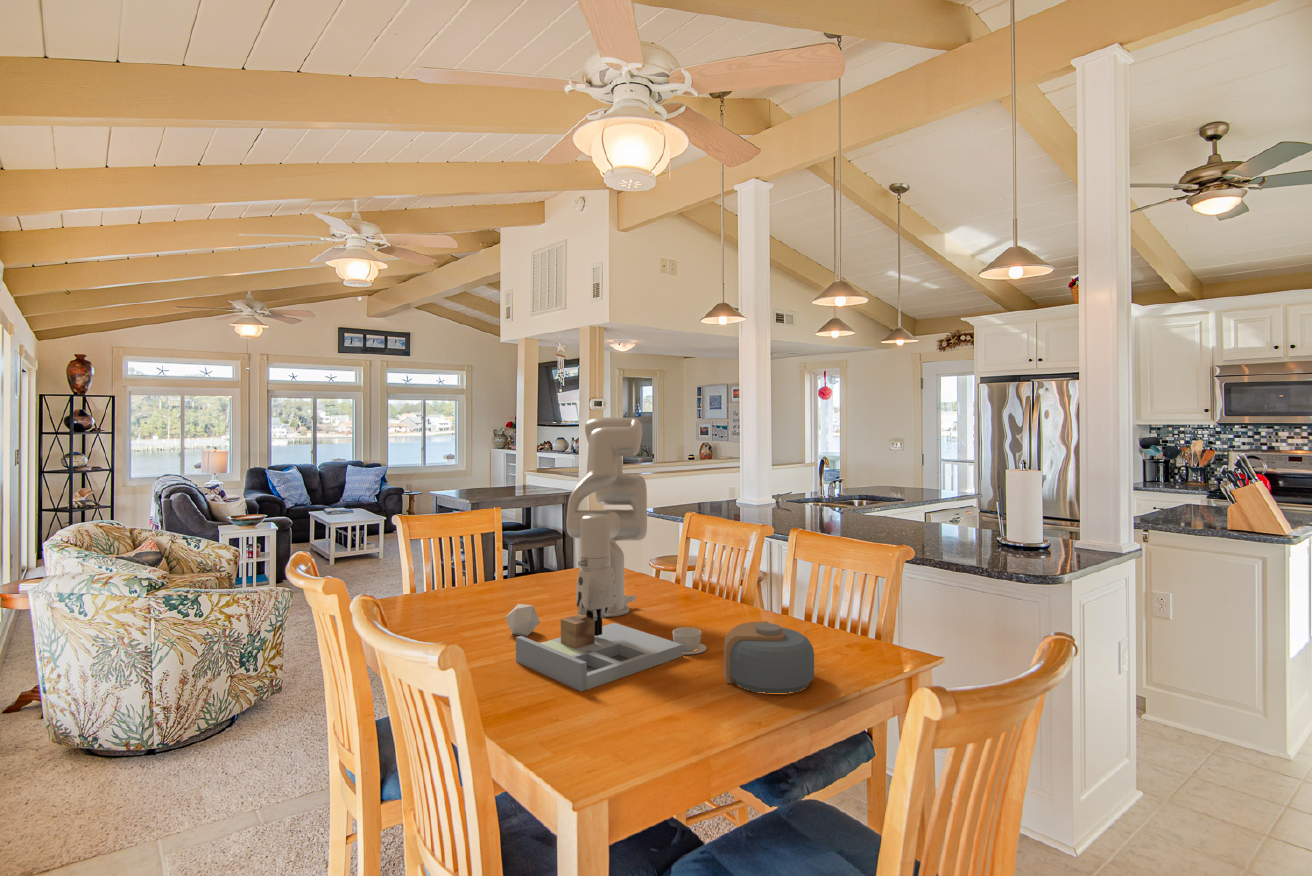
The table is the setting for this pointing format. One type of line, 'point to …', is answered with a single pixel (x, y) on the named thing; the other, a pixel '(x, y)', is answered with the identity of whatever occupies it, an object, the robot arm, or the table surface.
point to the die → (522, 619)
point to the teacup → (689, 639)
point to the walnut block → (577, 631)
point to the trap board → (597, 656)
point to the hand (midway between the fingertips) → (595, 634)
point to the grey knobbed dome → (768, 658)
